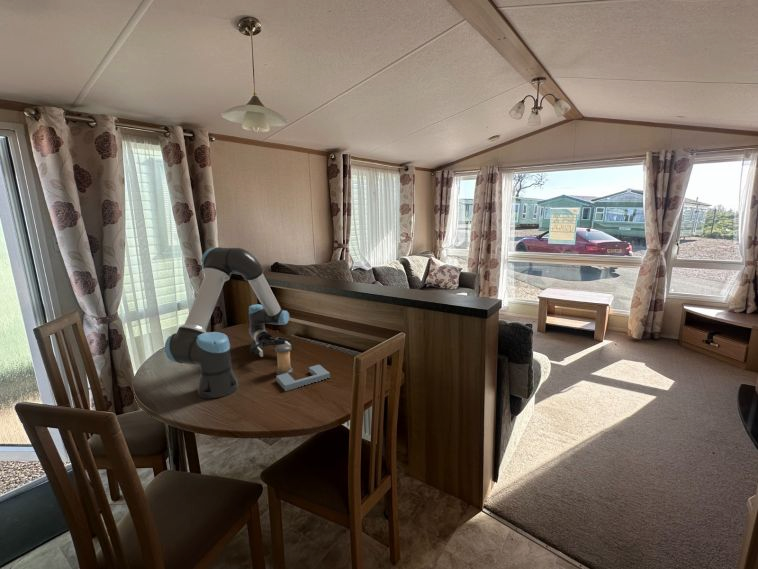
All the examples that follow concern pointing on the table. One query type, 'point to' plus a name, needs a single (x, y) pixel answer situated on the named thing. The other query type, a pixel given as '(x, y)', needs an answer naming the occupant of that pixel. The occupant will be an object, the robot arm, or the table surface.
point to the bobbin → (283, 359)
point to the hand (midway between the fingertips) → (276, 350)
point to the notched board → (290, 383)
